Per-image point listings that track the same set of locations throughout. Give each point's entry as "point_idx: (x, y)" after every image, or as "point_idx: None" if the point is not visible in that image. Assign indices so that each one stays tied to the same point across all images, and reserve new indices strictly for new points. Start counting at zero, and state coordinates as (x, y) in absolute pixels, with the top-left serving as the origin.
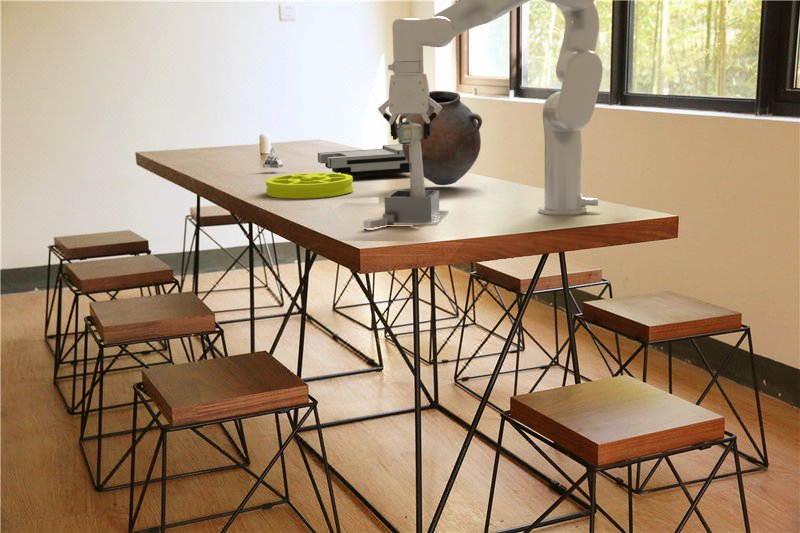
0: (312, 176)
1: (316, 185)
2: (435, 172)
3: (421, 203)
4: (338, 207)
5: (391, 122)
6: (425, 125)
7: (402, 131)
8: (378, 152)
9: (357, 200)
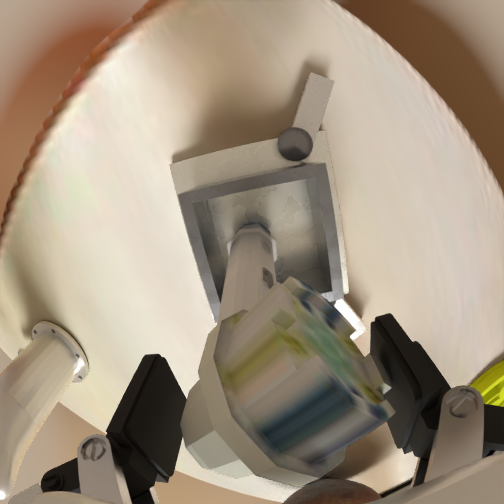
0: None
1: (485, 388)
2: (328, 484)
3: (209, 185)
4: (452, 320)
5: (455, 400)
6: (115, 420)
7: (320, 347)
8: None
9: None
